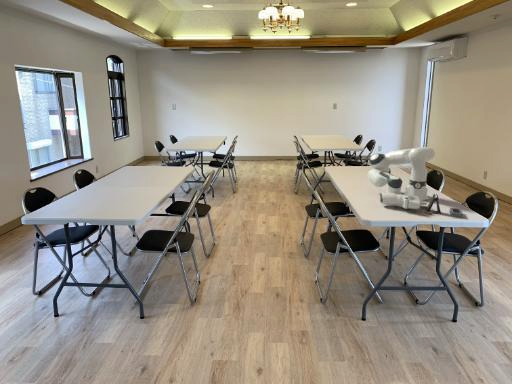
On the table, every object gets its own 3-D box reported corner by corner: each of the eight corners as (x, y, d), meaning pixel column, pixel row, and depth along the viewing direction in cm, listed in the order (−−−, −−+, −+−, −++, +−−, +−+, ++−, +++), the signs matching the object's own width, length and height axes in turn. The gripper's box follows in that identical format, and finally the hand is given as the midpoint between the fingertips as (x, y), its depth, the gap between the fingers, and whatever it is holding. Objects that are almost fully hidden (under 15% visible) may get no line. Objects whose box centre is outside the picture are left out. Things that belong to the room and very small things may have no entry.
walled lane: (419, 207, 267) (420, 205, 267) (430, 208, 265) (431, 206, 265) (420, 213, 253) (421, 211, 252) (432, 215, 251) (432, 213, 250)
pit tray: (449, 211, 260) (450, 207, 259) (459, 213, 257) (460, 208, 257) (451, 216, 249) (452, 212, 248) (462, 218, 247) (463, 213, 246)
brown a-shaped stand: (440, 211, 259) (442, 194, 256) (440, 214, 254) (443, 196, 251) (425, 209, 262) (428, 193, 259) (426, 212, 257) (428, 195, 254)
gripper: (404, 201, 272) (425, 203, 268) (404, 209, 253) (427, 212, 249) (405, 192, 270) (426, 195, 266) (405, 200, 252) (428, 202, 247)
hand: (426, 203), depth 257 cm, fingers closed
